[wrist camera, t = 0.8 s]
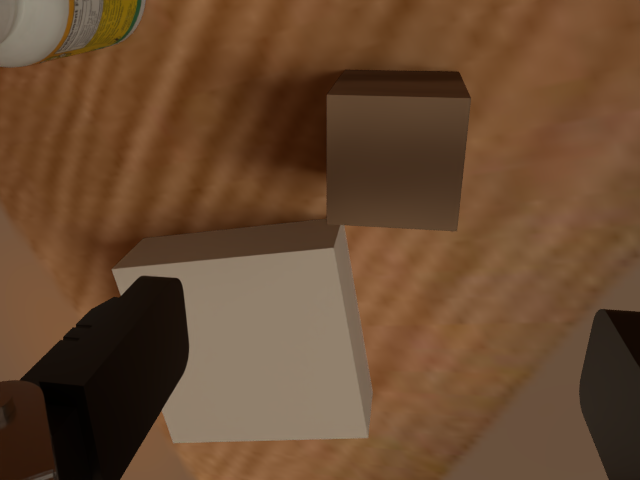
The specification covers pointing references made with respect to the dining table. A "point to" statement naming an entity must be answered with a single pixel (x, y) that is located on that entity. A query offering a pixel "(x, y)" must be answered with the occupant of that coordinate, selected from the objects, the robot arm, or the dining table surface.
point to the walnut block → (396, 149)
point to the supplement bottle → (62, 28)
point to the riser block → (263, 333)
